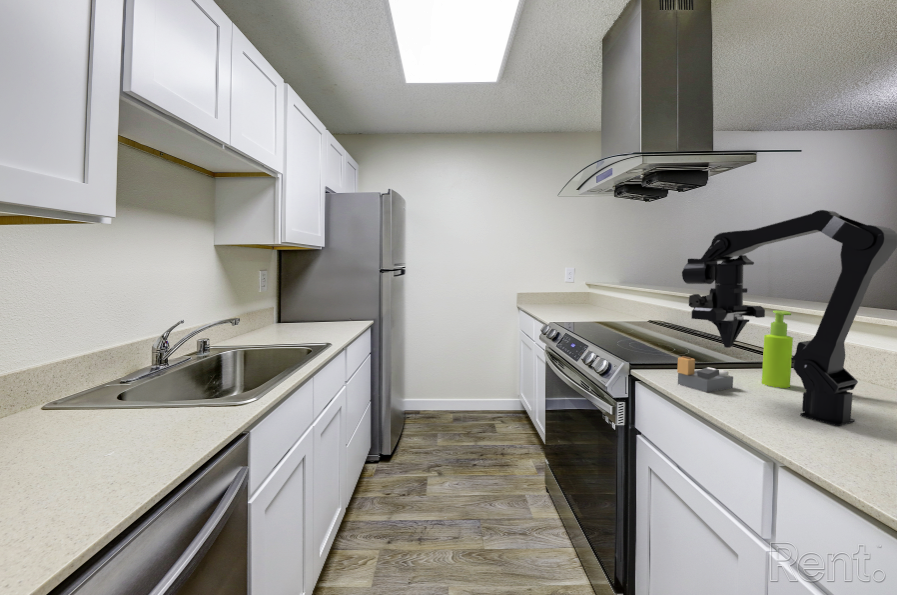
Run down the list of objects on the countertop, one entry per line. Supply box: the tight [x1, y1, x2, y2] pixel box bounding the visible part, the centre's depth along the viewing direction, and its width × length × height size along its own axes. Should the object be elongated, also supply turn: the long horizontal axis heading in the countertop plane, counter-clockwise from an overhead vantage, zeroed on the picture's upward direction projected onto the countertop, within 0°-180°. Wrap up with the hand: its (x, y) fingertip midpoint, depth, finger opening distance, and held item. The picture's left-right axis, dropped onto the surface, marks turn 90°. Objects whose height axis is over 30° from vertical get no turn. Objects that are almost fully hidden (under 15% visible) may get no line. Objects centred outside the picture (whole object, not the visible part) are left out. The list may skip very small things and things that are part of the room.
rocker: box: [696, 366, 720, 379], centre depth 104 cm, size 3×4×2 cm
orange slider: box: [676, 355, 696, 375], centre depth 108 cm, size 3×2×4 cm
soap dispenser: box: [761, 310, 794, 389], centre depth 107 cm, size 6×7×20 cm
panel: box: [677, 369, 734, 393], centre depth 107 cm, size 8×10×4 cm
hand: (727, 347), depth 100 cm, fingers closed
